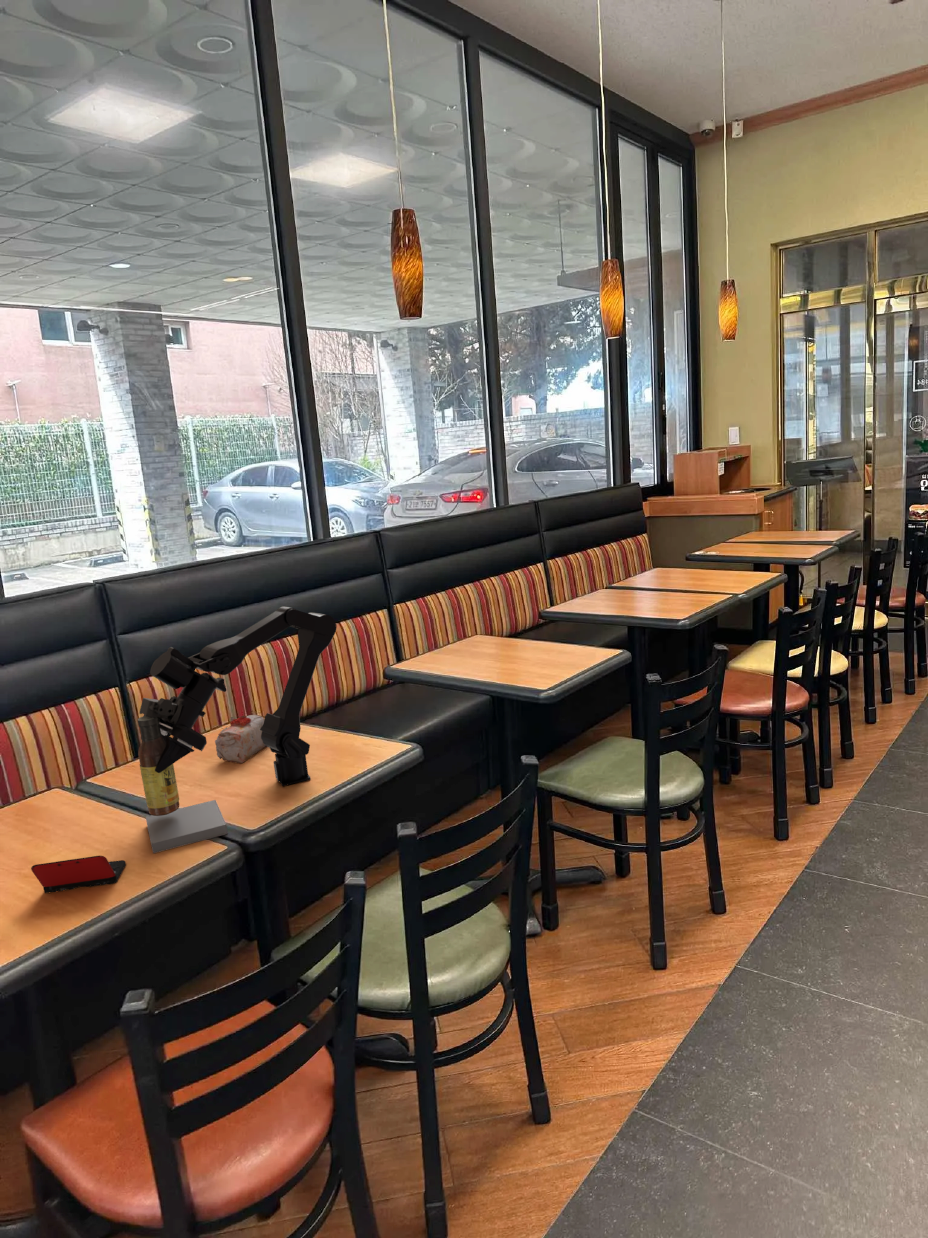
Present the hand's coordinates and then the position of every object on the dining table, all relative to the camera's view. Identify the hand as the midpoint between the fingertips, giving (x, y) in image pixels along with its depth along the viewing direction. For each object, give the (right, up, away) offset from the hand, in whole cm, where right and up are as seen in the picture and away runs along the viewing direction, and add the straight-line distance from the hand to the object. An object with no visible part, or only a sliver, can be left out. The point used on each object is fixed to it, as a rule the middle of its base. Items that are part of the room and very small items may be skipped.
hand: (149, 768), depth 166 cm
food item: (+8, -4, +42) cm, 43 cm away
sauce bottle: (+2, -9, +3) cm, 10 cm away
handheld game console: (-6, -18, -16) cm, 25 cm away
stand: (+7, -13, +2) cm, 14 cm away
